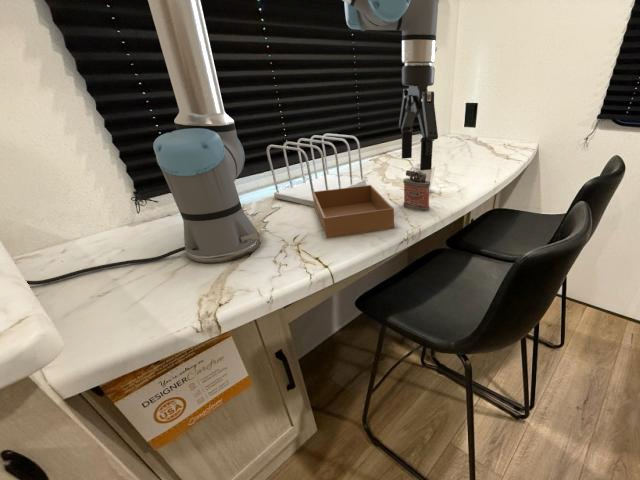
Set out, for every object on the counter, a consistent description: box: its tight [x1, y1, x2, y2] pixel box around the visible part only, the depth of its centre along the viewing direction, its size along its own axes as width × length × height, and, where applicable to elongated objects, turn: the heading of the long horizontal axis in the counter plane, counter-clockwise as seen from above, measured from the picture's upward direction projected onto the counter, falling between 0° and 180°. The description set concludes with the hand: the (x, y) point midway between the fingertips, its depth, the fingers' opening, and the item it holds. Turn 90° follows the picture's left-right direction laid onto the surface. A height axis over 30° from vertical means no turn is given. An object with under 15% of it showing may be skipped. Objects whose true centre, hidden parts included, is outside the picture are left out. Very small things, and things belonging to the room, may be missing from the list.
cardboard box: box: [312, 184, 395, 239], centre depth 86 cm, size 17×21×5 cm
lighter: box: [402, 169, 430, 212], centre depth 90 cm, size 8×3×10 cm, turn 58°
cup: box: [408, 163, 436, 193], centre depth 104 cm, size 7×10×8 cm
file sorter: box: [266, 133, 367, 208], centre depth 102 cm, size 25×17×16 cm
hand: (415, 163), depth 86 cm, fingers open, 13 cm apart
